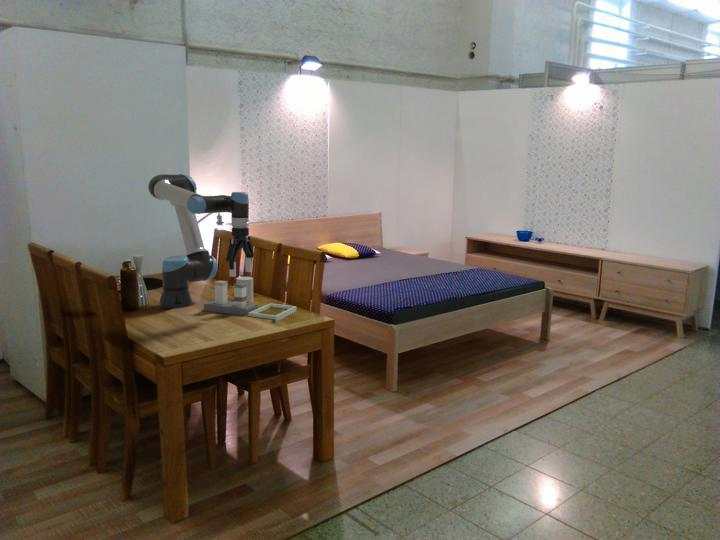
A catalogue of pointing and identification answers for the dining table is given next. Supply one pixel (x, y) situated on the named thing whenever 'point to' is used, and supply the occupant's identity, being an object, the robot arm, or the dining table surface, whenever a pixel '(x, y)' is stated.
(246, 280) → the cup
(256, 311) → the pale green rectangular frame
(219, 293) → the cylinder
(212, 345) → the dining table surface
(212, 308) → the fuse holder
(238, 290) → the fuse
